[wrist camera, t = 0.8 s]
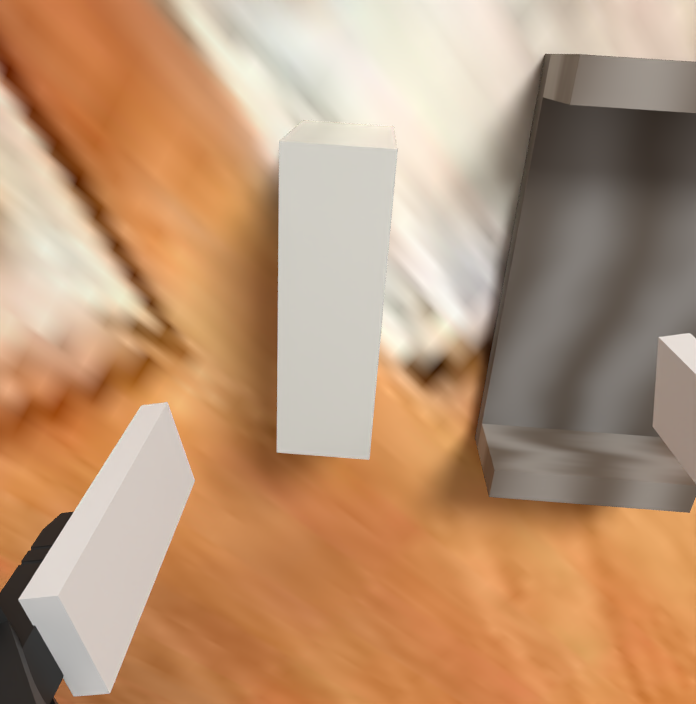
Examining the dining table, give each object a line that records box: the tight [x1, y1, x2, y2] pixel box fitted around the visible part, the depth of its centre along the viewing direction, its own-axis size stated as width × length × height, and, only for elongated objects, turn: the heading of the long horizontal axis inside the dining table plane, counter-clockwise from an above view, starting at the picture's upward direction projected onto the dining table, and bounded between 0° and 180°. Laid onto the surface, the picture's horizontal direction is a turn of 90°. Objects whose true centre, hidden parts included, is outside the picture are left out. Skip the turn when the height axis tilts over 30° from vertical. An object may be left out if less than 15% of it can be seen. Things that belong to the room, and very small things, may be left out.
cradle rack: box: [475, 54, 696, 513], centre depth 34 cm, size 12×24×6 cm, turn 177°
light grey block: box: [277, 120, 398, 460], centre depth 33 cm, size 5×16×9 cm, turn 177°
